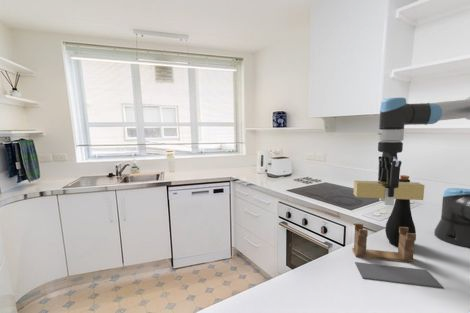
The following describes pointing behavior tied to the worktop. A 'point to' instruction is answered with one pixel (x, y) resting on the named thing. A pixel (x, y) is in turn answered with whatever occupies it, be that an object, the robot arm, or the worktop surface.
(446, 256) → the worktop surface
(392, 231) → the bottle
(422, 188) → the rail
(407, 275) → the mat
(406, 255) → the rack
